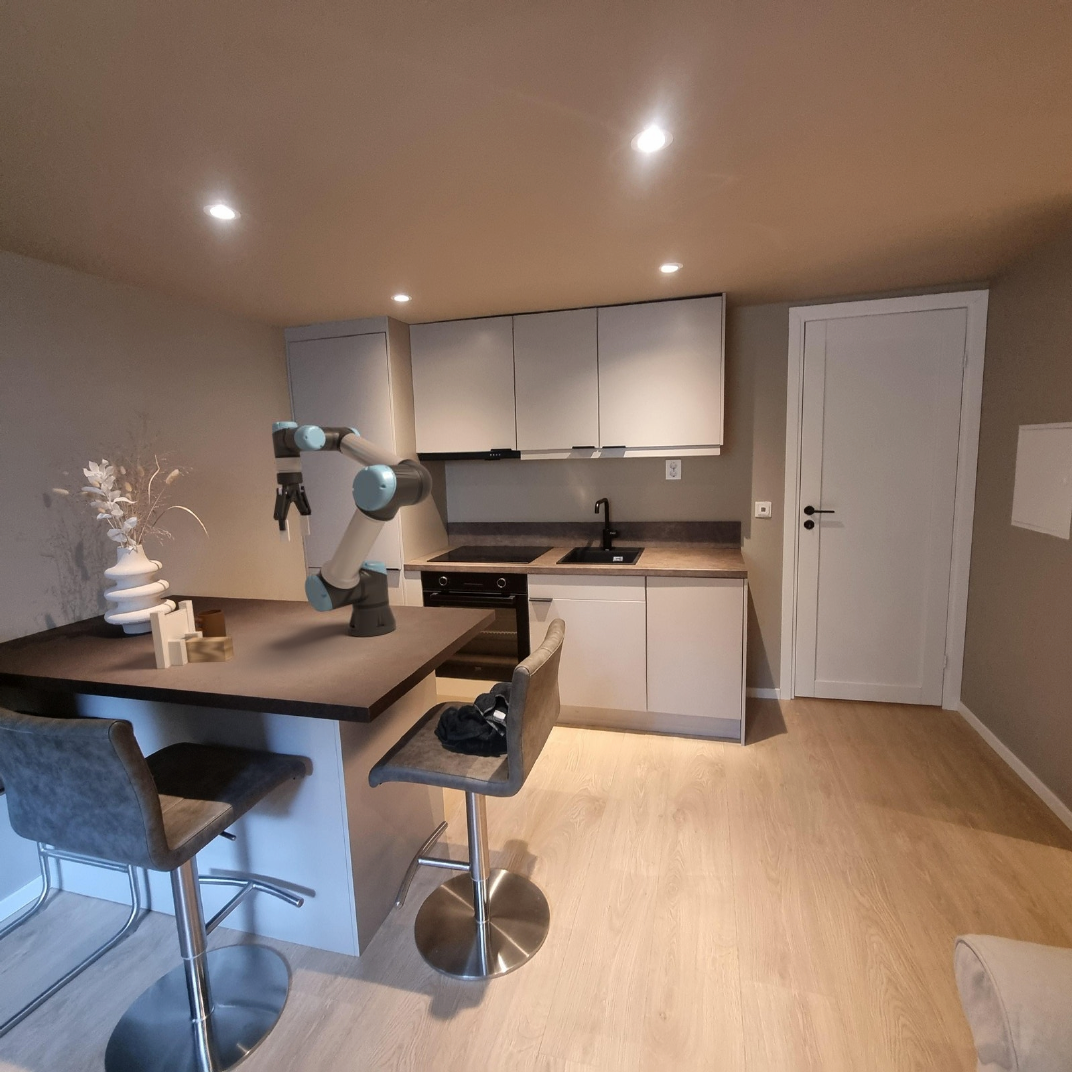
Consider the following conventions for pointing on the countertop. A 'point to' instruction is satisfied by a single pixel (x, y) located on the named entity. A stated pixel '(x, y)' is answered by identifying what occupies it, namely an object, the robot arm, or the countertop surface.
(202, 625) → the mug
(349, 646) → the countertop surface
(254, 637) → the countertop surface
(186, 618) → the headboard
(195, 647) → the wooden block
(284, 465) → the robot arm
